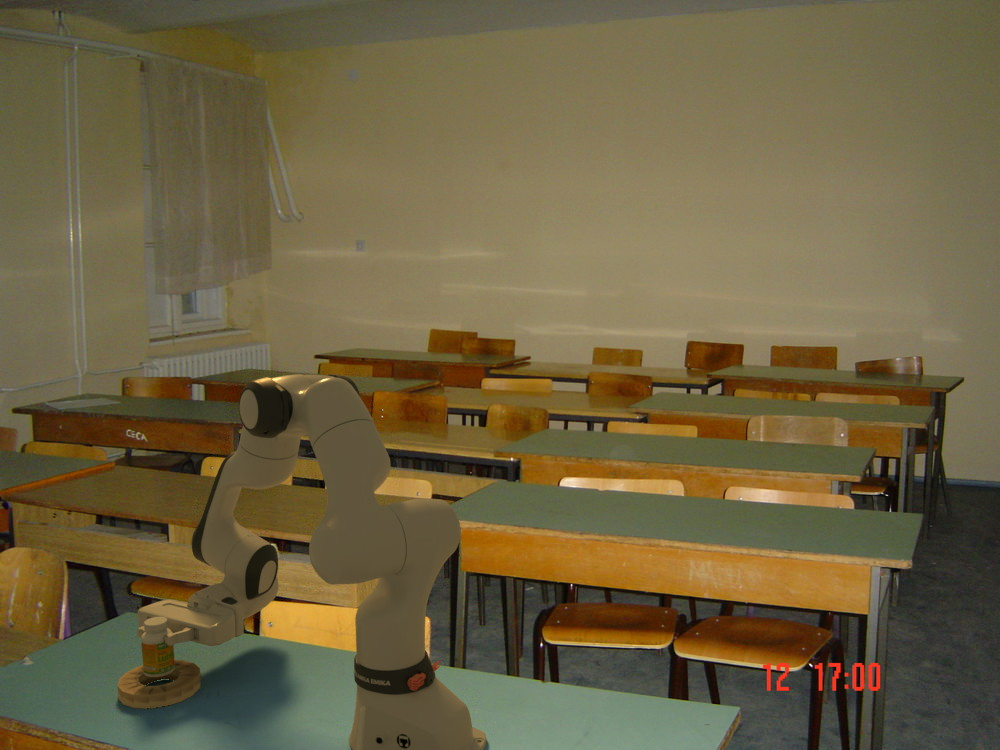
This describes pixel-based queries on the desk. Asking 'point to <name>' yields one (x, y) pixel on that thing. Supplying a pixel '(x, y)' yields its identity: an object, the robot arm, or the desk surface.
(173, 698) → the plain brown donut
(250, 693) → the desk surface
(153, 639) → the supplement bottle
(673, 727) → the desk surface
